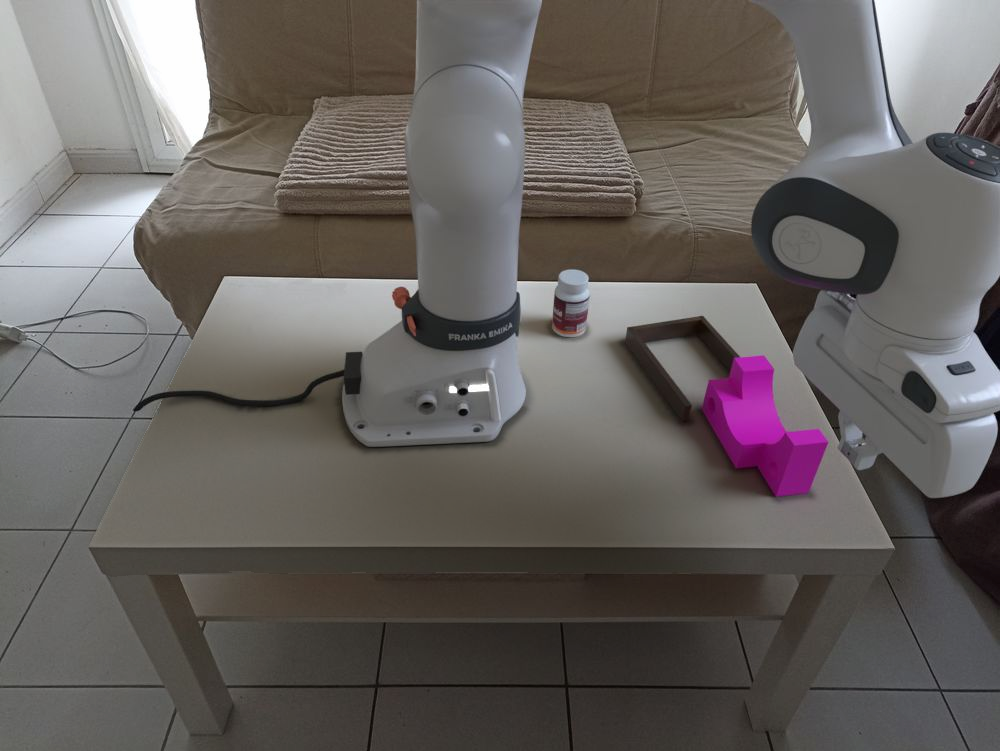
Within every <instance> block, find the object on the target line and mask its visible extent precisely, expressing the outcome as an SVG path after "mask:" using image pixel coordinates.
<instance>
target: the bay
mask: <svg viewBox="0 0 1000 751" xmlns="http://www.w3.org/2000/svg"><path fill="white" fill-rule="evenodd" d="M694 335H697V336H698V337H699V338H700V339H701V340H702V342H704V344H705V345H706V346H707V347H708V348H709V349H710V350H711V351H712V353H713V354H714V355H715V357H717V358H718V360H719V361H720V362H721V363H722V364H723V366H724V367H725V368H726V369H727V370H728V371H729V372H730V371H731V367H732V364H733V360H734V358H738V357H741V356H740V355H739V354H738V353H737V351H735V349H734V347H732V346H731V345H730V344H729V343H728V341H727V340H726V339H724V338H725V337H723V336H722V335H721V333H719V332H718V330H717V329H716V328H715V327H714V326H713V325H712V324H711V323H710V321H708V320H707V318H706V317H705V316H704V315H697V316H692V317H691V316H690V317H686V318H679V319H673V320H672V319H671V320H666V321H659V322H652V323H647V324H646V323H645V324H640V325H633V326H627V327H626V334H625V338H624V343H625V344H626V346H627V347H628V349H629V350H630V351H631V352H632V354H633V355H634V357H635V358H636V360H637V361H638V362H639V364H640V365H641V366H642V368H643V369H644V371H645V372H646V374H647V375H648V376H649V377H650V379H651V381H653V383H654V384H655V386H656V387H657V389H658V390H659V391H660V392H661V394H662V395H663V397H664V398H665V399H666V401H667V402H668V404H669V405H670V406H671V408H672V409H673V411H674V412H675V413H676V415H677V416H678V418H679V419H680V420H681V422H687V421H689V418H690V414H691V411H692V403H691V402H690V400H689V399H688V398H687V397H686V395H685V394H684V392H683V391H682V389H680V387H679V386H678V385H677V383H676V382H675V381H674V379H673V378H672V376H670V374H669V373H668V371H667V370H666V369H665V367H664V366H663V365H662V363H661V362H660V360H658V358H657V357H656V356H655V354H654V353H653V352H652V350H651V348H649V346H648V345H647V343H651V342H656V341H661V340H669V339H675V338H681V337H688V336H694Z"/></svg>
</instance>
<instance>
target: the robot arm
mask: <svg viewBox="0 0 1000 751" xmlns="http://www.w3.org/2000/svg"><path fill="white" fill-rule="evenodd" d="M746 1H747V2H749V3H753V4H755V5H757V6H759V7H761V8H762V9H764V10H766V11H767V12H769V13H770V14H771V15H772V16H774V18H776V19H777V20H778V21H779V22H780V23H781V25H782V26H783V27H784V28H785V30H786V31H787V33H788V35H789V37H790V39H791V42H792V44H793V47H794V52H795V55H796V60H797V65H798V69H799V74H800V80H801V83H802V89H803V94H804V98H805V103H806V107H807V112H808V116H809V117H808V118H809V122H810V136H809V142H808V145H807V147H806V151H805V154H804V156H803V158H802V159H801V160H800V161H799V162H797V164H795V165H794V166H792V167H791V168H789V169H788V170H787V171H786V172H785V173H784V174H783V175H782V176H781V177H779V178H778V179H777V180H776V181H775V182H774V183H773V184H772V185H771V186H770V187H769V188H768V189H767V190H766V191H764V193H763V194H762V195H761V197H760V198H759V200H758V201H757V203H756V205H755V206H754V209H753V211H752V212H753V213H752V215H751V222H750V223H751V225H750V232H751V238H752V242H753V246H754V248H755V251H756V253H757V255H758V257H759V258H760V260H761V261H762V263H763V264H764V265H765V266H766V267H767V268H768V269H769V270H770V271H771V272H772V273H773V274H775V275H776V276H778V277H779V278H781V279H783V280H784V281H787V282H788V283H791V284H795V285H798V286H802V287H807V288H811V289H815V290H820V291H819V292H818V294H817V296H816V300H815V302H814V307H813V309H812V310H811V311H810V312H809V314H808V315H807V317H806V319H805V320H804V323H803V325H802V327H801V328H800V331H799V333H798V336H797V338H796V340H795V343H794V346H793V348H792V359H793V363H794V366H795V367H796V368H797V369H798V370H799V371H800V372H801V373H802V375H804V376H805V377H806V378H807V379H808V380H809V381H810V382H811V383H812V384H813V385H814V386H815V387H816V388H817V389H818V390H819V391H820V392H821V393H822V394H823V395H824V396H825V397H826V398H827V399H828V400H829V401H830V402H831V403H832V404H833V405H834V406H835V407H836V408H837V409H838V410H839V411H838V415H837V419H838V425H839V433H840V437H841V438H840V439H839V442H838V444H837V445H838V446H837V450H838V451H839V452H840V453H841V454H842V455H843V456H844V457H845V458H846V459H847V460H848V462H849V463H850V464H851V465H852V466H853V467H854V468H855V469H856V470H857V471H862V470H866V469H870V468H871V467H872V466H873V465H874V464H875V461H876V459H877V457H878V455H880V454H881V455H882V454H883V455H884V456H886V457H887V459H888V460H889V461H890V462H892V464H894V465H895V467H896V468H898V469H899V470H900V471H901V472H902V473H903V474H904V475H905V477H907V479H909V481H911V483H913V484H914V485H915V486H916V487H917V489H919V491H921V493H922V494H923V495H925V496H926V497H927V498H930V499H940V498H941V499H942V498H948V497H952V496H956V495H960V494H964V493H965V492H968V491H970V490H971V489H972V488H974V486H975V485H976V484H977V482H978V481H979V479H980V477H981V475H982V473H983V471H984V469H985V468H986V465H987V463H988V461H989V459H990V456H991V454H992V452H993V449H994V447H995V444H996V441H997V437H998V431H999V428H998V420H997V418H996V414H994V413H997V412H1000V369H999V368H998V366H997V365H996V364H995V363H994V361H993V360H992V358H991V357H990V356H989V354H988V352H987V351H986V350H985V348H984V346H983V344H982V342H981V340H980V339H979V336H978V335H977V334H976V333H975V332H974V331H975V330H976V327H977V325H978V322H979V318H980V309H981V308H980V307H981V303H982V300H983V298H984V297H985V295H986V294H987V292H988V291H989V290H990V289H992V287H993V286H994V285H995V284H996V282H997V281H998V280H999V278H1000V146H999V145H996V144H995V143H993V142H990V141H988V140H985V139H982V138H980V137H977V136H973V135H970V134H966V133H953V132H935V133H931V134H929V135H928V136H927V135H926V136H925V137H924V138H922V139H920V140H918V141H914V142H913V141H912V139H911V138H910V136H909V135H908V133H907V132H906V130H905V128H904V127H903V125H902V123H901V122H900V120H899V118H898V116H897V113H896V112H895V109H894V106H893V103H892V99H891V94H890V89H889V82H888V77H887V70H886V64H885V57H884V50H883V44H882V37H881V32H880V27H879V19H878V13H877V7H876V2H875V0H746ZM542 2H543V0H416V43H415V44H416V46H415V47H416V48H415V74H414V75H415V76H414V86H413V94H412V101H411V105H410V110H409V115H408V119H407V123H406V128H405V132H404V139H403V148H404V158H405V169H406V177H407V178H406V179H407V188H408V196H409V203H410V209H411V210H410V211H411V216H412V222H413V228H414V236H415V251H416V271H417V289H416V291H415V293H414V294H413V295H412V296H411V294H410V291H409V290H408V289H407V287H405V286H398V287H395V288H394V289H393V291H392V292H391V293H392V294H391V297H392V300H393V304H394V306H395V307H396V308H397V309H399V310H401V320H400V321H399V322H397V323H396V324H395V325H394V326H392V327H391V328H389V329H388V330H386V331H385V332H383V333H382V334H380V335H379V336H378V337H377V338H375V339H373V340H372V341H370V342H369V343H368V344H367V345H366V347H365V349H364V350H363V351H346V352H345V358H344V369H342V370H337V371H335V372H331V373H328V374H324V375H322V376H319V377H318V378H316V379H314V380H312V381H311V382H310V383H309V384H308V386H307V387H306V388H305V390H304V391H303V392H302V393H300V394H298V395H295V396H291V397H288V398H283V399H273V400H271V399H269V400H263V399H262V400H261V399H260V400H259V399H256V400H255V399H241V398H235V397H231V396H228V395H225V394H222V393H218V392H213V391H210V390H171V391H164V392H159V393H155V394H152V395H149V396H147V397H146V398H144V399H142V400H141V401H139V402H138V403H137V404H136V405H134V407H133V409H132V412H139V411H141V410H142V409H143V408H145V407H146V406H147V405H149V404H151V403H153V402H156V401H158V400H162V399H168V398H184V397H186V398H187V397H188V398H189V397H204V398H211V399H214V400H218V401H221V402H224V403H228V404H230V405H235V406H246V407H279V406H285V405H290V404H295V403H297V402H300V401H303V400H305V399H306V398H307V397H308V396H310V395H311V393H312V391H314V388H316V387H317V386H318V385H321V384H323V383H325V382H328V381H332V380H334V379H338V378H339V379H340V378H341V377H343V385H342V390H341V391H342V392H341V404H342V412H343V416H344V420H345V422H346V425H347V428H348V429H349V431H350V433H351V434H352V435H353V437H354V438H355V439H356V440H357V441H358V442H360V443H361V444H362V445H364V446H365V447H369V448H373V447H374V448H378V447H380V448H381V447H382V448H383V447H401V446H402V447H403V446H422V445H424V446H425V445H444V444H445V445H447V444H466V443H486V442H487V443H488V442H491V441H493V440H495V439H497V437H498V436H499V434H500V433H501V430H502V428H503V426H504V424H505V423H506V422H508V421H509V420H511V418H512V417H514V416H515V415H516V414H517V413H518V412H519V411H520V410H521V408H523V405H524V403H525V401H526V397H527V388H526V383H525V381H524V378H523V375H522V371H521V366H520V360H519V350H518V340H517V338H518V337H519V335H520V326H521V319H522V304H521V293H520V292H519V291H518V271H519V270H518V266H519V242H520V241H519V240H520V228H521V218H522V207H523V194H524V180H525V167H526V164H525V163H526V149H527V148H526V147H527V145H526V144H527V143H526V133H525V124H524V93H525V86H526V81H527V80H526V79H527V75H528V69H529V63H530V59H531V53H532V48H533V43H534V38H535V33H536V29H537V24H538V19H539V15H540V11H541V9H542V4H543V3H542ZM851 295H856V297H852V296H851ZM863 435H865V438H864V437H863Z"/></svg>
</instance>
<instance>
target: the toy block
mask: <svg viewBox="0 0 1000 751" xmlns="http://www.w3.org/2000/svg"><path fill="white" fill-rule="evenodd" d="M774 372H775V368H774V366H773V365H772V364H771V362H770V361H769V359H767V357H766V355H764V354H763V355H752V356H751V355H750V356H740V357H738V358H734V360H733V364H732V367H731V371H729V375H728V377H727V378H713V379H708V381H707V386H706V389H705V393H704V398H703V402H702V406H701V410H702V412H703V414H704V415H705V417H706V419H707V421H708V422H709V424H710V426H711V428H712V429H713V431H714V433H715V434H716V436H717V438H718V440H719V442H720V443H721V445H722V447H723V448H724V450H725V452H726V454H727V455H728V457H729V459H730V461H731V462H732V463H733V465H734V467H735V469H745V468H753V467H757V468H758V470H759V472H760V473H761V475H762V477H763V478H764V479H765V482H766V483H767V485H768V486H769V488H770V489H771V491H772V493H773V494H774V496H775V497H776V498H778V497H785V496H795V495H804V494H809V493H810V490H811V489H812V485H813V482H814V480H815V479H816V478H815V477H816V476H817V472H818V470H819V467H820V465H821V462H822V460H823V457H824V455H825V452H826V450H827V447H828V444H829V441H828V438H826V436H825V435H824V434H823V432H822V431H821V430H820V429H819V428H812V429H811V428H810V429H802V430H793V431H787V430H786V428H785V427H784V425H783V424H782V421H781V419H780V417H779V415H778V412H777V411H778V410H777V408H776V404H775V399H774V386H773V385H774V384H773V383H774Z"/></svg>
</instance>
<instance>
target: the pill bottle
mask: <svg viewBox="0 0 1000 751" xmlns="http://www.w3.org/2000/svg"><path fill="white" fill-rule="evenodd" d="M589 280H590V278H589V275H588V274H587V273H586V272H584V271H583V270H579V269H572V268H571V269H570V268H569V269H565V270H562V271H561V272H560V273H559V274H558V279H557V285H556V286H555V288H554V294H553V306H552V318H551V319H552V320H551V329H552V330H553V332H554V333H555V334H557V335H558V336H560V337H564V338H577V337H580V336H582V335H583V334H584V333H586V329H587V323H588V322H587V321H588V314H589V305H590V298H591V291H590V288H589Z"/></svg>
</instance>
